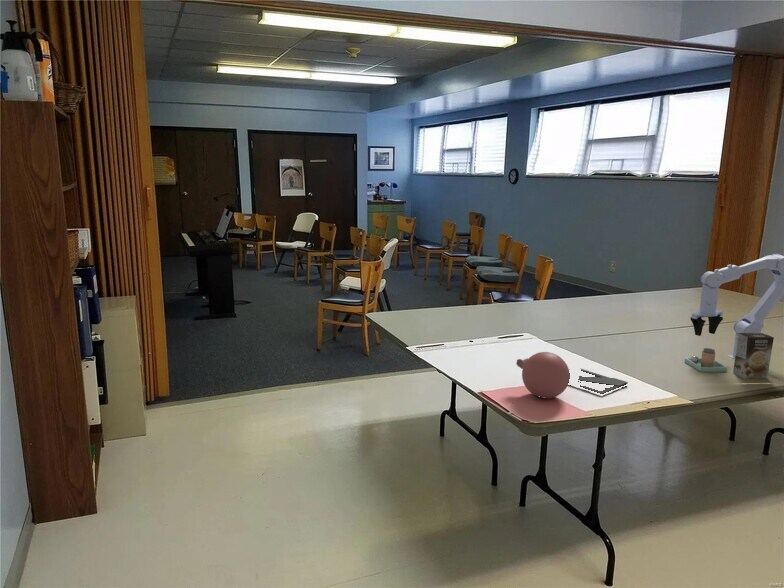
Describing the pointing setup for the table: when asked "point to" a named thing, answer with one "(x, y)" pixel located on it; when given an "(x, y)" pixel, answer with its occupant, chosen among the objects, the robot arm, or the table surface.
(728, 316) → the table surface
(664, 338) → the table surface
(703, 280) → the robot arm
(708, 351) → the shaker
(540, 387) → the balloon
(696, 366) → the tray
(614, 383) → the picture frame
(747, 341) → the coffee box
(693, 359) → the ball
